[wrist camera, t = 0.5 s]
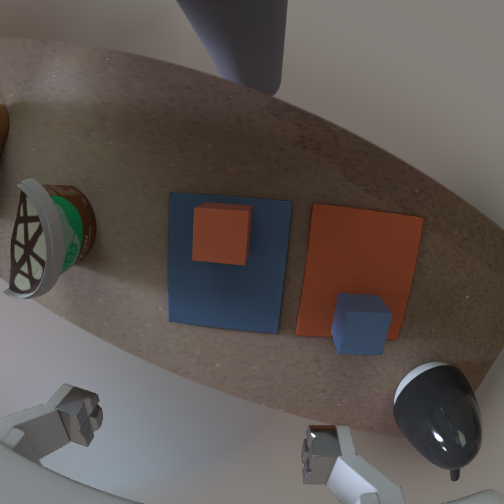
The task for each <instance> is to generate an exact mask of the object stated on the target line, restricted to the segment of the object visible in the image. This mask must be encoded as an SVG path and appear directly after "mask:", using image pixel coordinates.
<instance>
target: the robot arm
mask: <svg viewBox="0 0 504 504" xmlns="http://www.w3.org/2000/svg"><path fill="white" fill-rule="evenodd" d="M98 402H99V398H98V395H97V394H96V393H93V392H90V391H87V390H84V389H81V388H78V387H75V386H72V385H69V384H63V385H62V386H61V387H60V388H59V390H58V391H57V392H56V393H55V394H54V395H53V397H51V399H50V400H49V401H48V402H47V403H46V404H45V405H44V404H41V405H38V406H35V407H32V408H29V409H26V410H23V411H20V412H17V413H14V414H11V415H8V416H5V417H2V418H0V504H143V503H139V502H136V501H132V500H129V499H125V498H122V497H119V496H116V495H112V494H110V493H107V492H104V491H101V490H98V489H96V488H93V487H90V486H88V485H85V484H82V483H80V482H77V481H75V480H72V479H70V478H68V477H65V476H63V475H61V474H59V473H56V472H54V471H52V470H50V469H48V468H46V467H44V466H42V464H41V463H40V461H39V459H41V458H43V457H44V456H46V455H48V454H50V453H52V452H54V451H55V450H57V449H59V448H61V447H62V446H64V445H66V444H68V443H69V442H70V441H72V442H74V443H77V444H81V445H83V446H86V447H88V446H89V444H90V443H91V441H92V439H93V438H94V434H93V432H94V431H96V430H98V429H99V428H100V426H101V424H102V420H103V412H102V408H101V407H100V406H99V405H98ZM306 436H307V438H306V439H304V442H303V446H302V463H304V467H303V471H302V472H303V484H326V486H327V487H328V488H329V490H330V491H331V492H332V493H333V495H334V496H335V497H336V498H337V499H338V500H339V502H340V503H341V504H406V503H405V499H404V496H403V493H402V490H401V487H399V486H398V485H397V484H395V483H394V482H393V481H391V480H390V479H389V478H388V477H386V476H385V475H384V474H383V473H381V472H380V471H379V470H378V469H376V468H375V467H374V466H373V465H371V464H370V463H369V462H368V461H367V460H365V459H364V458H363V457H362V456H360V455H357V454H356V451H355V446H354V442H353V438H352V434H351V431H350V427H349V426H348V425H335V426H334V425H309V426H308V428H307V431H306ZM443 504H504V495H503V494H501V493H499V492H497V491H494V490H492V489H488V490H484V491H480V492H478V493H475V494H472V495H469V496H466V497H463V498H460V499H457V500H453V501H450V502H447V503H443Z"/></svg>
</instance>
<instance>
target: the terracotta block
mask: <svg viewBox="0 0 504 504" xmlns="http://www.w3.org/2000/svg"><path fill="white" fill-rule="evenodd" d="M252 210H253V206H251V205H238V204H225V203H211V202H205V203H203V204H201V205H199V206H197V207H195V208H194V226H193V254H192V260H193V261H204V262H214V263H224V264H235V265H246V261H247V258H248V254H249V249H250V236H251V223H252Z"/></svg>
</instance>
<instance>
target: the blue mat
mask: <svg viewBox="0 0 504 504" xmlns="http://www.w3.org/2000/svg"><path fill="white" fill-rule="evenodd" d="M205 202H211V203H225V204H238V205H251V206H253V210H252V223H251V236H250V249H249V254H248V258H247V261H246V265H235V264H224V263H214V262H204V261H193V260H192V254H193V226H194V208H195V207H197V206H199V205H201V204H203V203H205ZM291 210H292V201H283V200H273V199H261V198H249V197H236V196H223V195H208V194H191V193H173V192H172V193H170V200H169V231H168V307H169V321H170V322H177V323H184V324H192V325H199V326H208V327H216V328H225V329H234V330H243V331H253V332H264V333H275V334H277V333H278V327H279V319H280V311H281V303H282V294H283V286H284V277H285V268H286V259H287V250H288V240H289V230H290V220H291Z"/></svg>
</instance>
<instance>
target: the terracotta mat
mask: <svg viewBox="0 0 504 504" xmlns="http://www.w3.org/2000/svg"><path fill="white" fill-rule="evenodd" d="M423 220H424V218H422V217H415V216H409V215H402V214H395V213H388V212H380V211H373V210H365V209H357V208H349V207H340V206H332V205H323V204H312V212H311V222H310V231H309V239H308V248H307V256H306V264H305V272H304V280H303V287H302V294H301V301H300V308H299V315H298V322H297V329H296V335H302V336H317V337H332V334H331V328H332V323H333V318H334V313H335V307H336V302H337V296H338V293H348V294H362V295H378V296H379V297H380V298H381V299H382V300H383V302H384V303H385V304H386V305H387V307H388V308H389V309H390V311H391V312H392V313H393V314H392V318H391V322H390V326H389V330H388V334H387V337H386V339H398V336H399V332H400V329H401V325H402V321H403V317H404V314H405V310H406V306H407V302H408V298H409V293H410V289H411V285H412V280H413V275H414V271H415V266H416V261H417V255H418V250H419V244H420V239H421V233H422V226H423Z"/></svg>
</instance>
